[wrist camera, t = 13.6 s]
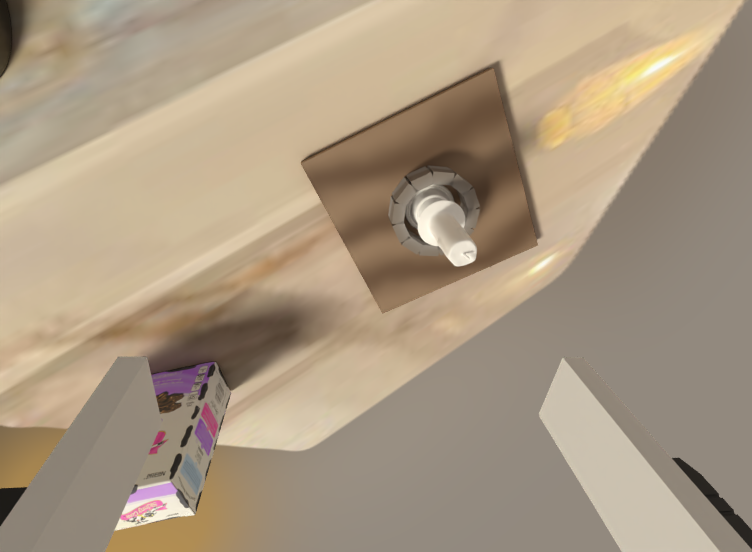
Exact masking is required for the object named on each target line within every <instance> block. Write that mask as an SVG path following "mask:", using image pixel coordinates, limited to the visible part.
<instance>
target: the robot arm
mask: <svg viewBox="0 0 752 552" xmlns="http://www.w3.org/2000/svg"><path fill="white" fill-rule="evenodd" d="M11 41H12V32H11V21H10V16H9V11H8V7H7V4H6V1H5V0H0V76H1V74H2V73H3V71H4V69H5V67H6V65H7V62H8V59H9V55H10V51H11ZM539 416H540V418H541V420H542V421H543V423H544V425H545V426H546V428H547V429H548V431H549V433H550V434H551V436H552V438H553V439H554V441H555V442H556V444H557V446H558V448H559V449H560V451H561V453H562V454H563V456H564V457H565V459H566V461H567V462H568V464H569V466H570V467H571V469H572V470H573V472H574V474H575V475H576V477H577V479H578V480H579V482H580V484H581V485H582V487H583V488H584V490H585V492H586V494H587V495H588V497H589V498H590V500H591V502H592V503H593V505H594V507H595V508H596V510H597V512H598V513H599V515H600V517H601V518H602V520H603V521H604V523H605V525H606V526H607V528H608V530H609V531H610V533H611V535H612V536H613V538H614V540H615V541H616V543H617V544H618V546H619V548H620V549H621V551H622V552H752V530H751V529H750V528H749V527H748V525H747V524H746V523H745V522H744V521H743V520H742V519H741V518H740V517H739V516H738V515H735V514H734V510H733V509H732V508H731V507H730V506H729V505H728V503H727V502H726V501H725V500H724V499H723V498H720V497H719V494H718V493H717V491H716V490H715V489H714V488H713V487H712V486H711V485H710V484H709V483H708V482H707V481H706V480H705V479H704V477H703V476H702V475H701V474H700V473H698V472H697V471H696V470H694V469H693V468H692V467H690V466H689V465H688V464H687V463H685V462H684V461H683V460H681V459H680V458H671V457H670V456H669V455H668V454H667V452H666V451H665V450H664V449H663V448H662V447H661V446H660V444H659V443H658V442H657V441H656V440H655V439H654V438H653V436H652V435H650V433H649V432H648V431H647V430H646V428H645V427H644V426H643V425H642V424H641V423H640V422H639V420H638V419H637V418H636V417H635V416H634V415H633V414H632V413H631V412H630V410H629V409H628V408H627V407H626V406H625V405H624V403H623V402H622V401H621V400H620V399H619V398H618V397H617V395H616V394H615V393H614V392H613V391H612V390H611V389H610V388H609V386H608V385H607V384H606V383H605V382H604V381H603V379H602V378H601V377H600V376H599V375H598V374H597V373H596V372H595V371H594V369H593V368H592V367H591V366H590V365H589V364H588V362H587V361H586V360H585V359H584V358H571V357H566V358H565V357H563V358H562V361H561V363H560V365H559V368H558V370H557V373H556V375H555V377H554V380H553V382H552V384H551V387H550V389H549V391H548V394H547V396H546V399H545V401H544V403H543V406H542V408H541V410H540V413H539ZM161 425H162V421H161V416H160V412H159V407H158V403H157V398H156V394H155V390H154V385H153V381H152V376H151V372H150V367H149V363H148V358H147V357H118V358H117V359H116V361H115V362H114V364H113V365H112V366H111V368H110V369H109V371H108V372H107V374H106V375H105V377H104V378H103V379H102V381H101V382H100V384H99V385H98V387H97V388H96V390H95V391H94V392H93V394H92V395H91V397H90V398H89V400H88V401H87V402H86V404H85V405H84V407H83V408H82V410H81V411H80V413H79V414H78V415H77V417H76V418H75V420H74V421H73V423H72V424H71V426H70V427H69V428H68V430H67V431H66V433H65V434H64V436H63V437H62V439H61V440H60V442H59V443H58V444H57V446H56V447H55V449H54V450H53V452H52V453H51V454H50V456H49V457H48V459H47V460H46V462H45V463H44V465H43V466H42V467H41V469H40V471H39V472H38V473H37V475H36V476H35V477H34V479H33V480H32V482H31V483H30V485H29V486H28V487H24V488H2V489H0V552H105V551H106V548H107V546H108V544H109V541H110V539H111V537H112V535H113V532H114V530H115V528H116V526H117V524H118V521H119V519H120V517H121V515H122V512H123V510H124V508H125V506H126V503H127V501H128V499H129V497H130V494H131V492H132V490H133V488H134V485H135V483H136V481H137V479H138V476H139V474H140V472H141V470H142V467H143V465H144V463H145V461H146V458H147V456H148V454H149V452H150V449H151V447H152V445H153V443H154V440H155V438H156V436H157V434H158V432H159V429H160V427H161Z"/></svg>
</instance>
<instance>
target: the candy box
mask: <svg viewBox="0 0 752 552" xmlns="http://www.w3.org/2000/svg"><path fill="white" fill-rule="evenodd" d="M151 376H152V381H153V385H154V390H155V394H156V398H157V403H158V407H159V412H160V416H161V421H162V425H161V427H160V429H159V432H158V434H157V436H156V438H155V440H154V443H153V445H152V447H151V449H150V452H149V454H148V456H147V458H146V461H145V463H144V465H143V467H142V470H141V472H140V474H139V476H138V479H137V481H136V483H135V485H134V488H133V490H132V492H131V494H130V497H129V499H128V501H127V503H126V506H125V508H124V510H123V512H122V515H121V517H120V519H119V521H118V524H117V526H116V528H115V530H114V531H116V530H120V529H125V528H130V527H135V526H139V525H144V524H149V523H153V522H158V521H162V520H167V519H172V518H176V517H181V516H190V515H195V514H196V511H197V507H198V504H199V500H200V497H201V493H202V490H203V486H204V483H205V480H206V476H207V473H208V469H209V466H210V463H211V459H212V456H213V453H214V449H215V446H216V443H217V439H218V436H219V431H220V429H221V425H222V422H223V419H224V415H225V412H226V408H227V405H228V402H229V399H230V395H231V392H230V390H229V387H228V385H227V383H226V382H225V380H224V377H223V375H222V373H221V371H220V369H219V367H218V365H217V363H216V362H209V363H204V364H199V365H195V366H191V367H185V368H180V369H176V370H171V371H166V372H161V373H157V374H152V375H151Z"/></svg>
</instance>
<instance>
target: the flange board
mask: <svg viewBox="0 0 752 552" xmlns="http://www.w3.org/2000/svg"><path fill="white" fill-rule="evenodd" d="M301 165H302V167H303V168H304V170H305V172H306V174H307V176H308V178H309V179H310V181H311V183H312V185H313V187H314V189H315V190H316V192H317V194H318V196H319V198H320V200H321V201H322V203H323V205H324V207H325V209H326V211H327V212H328V214H329V216H330V218H331V220H332V222H333V223H334V225H335V227H336V229H337V231H338V233H339V235H340V236H341V238H342V240H343V242H344V244H345V246H346V247H347V249H348V251H349V253H350V255H351V257H352V258H353V260H354V262H355V264H356V266H357V268H358V269H359V271H360V273H361V275H362V277H363V279H364V280H365V282H366V284H367V286H368V288H369V290H370V291H371V293H372V295H373V297H374V299H375V301H376V302H377V304H378V306H379V308H380V310H381V312H382V314H383V313H385V312H387V311H390V310H392V309H394V308H396V307H399V306H401V305H403V304H405V303H408V302H410V301H412V300H415V299H417V298H419V297H421V296H424V295H426V294H428V293H431V292H433V291H435V290H437V289H440V288H442V287H444V286H446V285H449V284H451V283H453V282H456V281H458V280H460V279H462V278H465V277H467V276H469V275H471V274H474V273H476V272H478V271H481V270H483V269H485V268H487V267H490V266H492V265H494V264H497V263H499V262H501V261H503V260H506V259H508V258H510V257H512V256H515V255H517V254H519V253H522V252H524V251H526V250H528V249H531V248H533V247H535V246H537V245H538V243H537V239H536V235H535V231H534V227H533V223H532V219H531V215H530V211H529V207H528V203H527V199H526V195H525V191H524V187H523V183H522V179H521V175H520V171H519V167H518V163H517V159H516V155H515V151H514V147H513V143H512V139H511V135H510V131H509V127H508V123H507V119H506V115H505V111H504V107H503V103H502V99H501V95H500V91H499V87H498V83H497V79H496V75H495V71H494V68H489V69H487V70H485V71H483V72H481V73H479V74H477V75H475V76H473V77H471V78H469V79H467V80H465V81H463V82H461V83H459V84H457V85H455V86H453V87H451V88H449V89H447V90H445V91H443V92H441V93H438V94H436V95H434V96H432V97H430V98H428V99H426V100H424V101H422V102H420V103H418V104H416V105H414V106H412V107H410V108H408V109H406V110H404V111H402V112H400V113H398V114H396V115H394V116H392V117H390V118H388V119H386V120H384V121H382V122H380V123H378V124H376V125H374V126H372V127H370V128H368V129H366V130H364V131H362V132H360V133H358V134H356V135H354V136H352V137H350V138H348V139H346V140H344V141H342V142H340V143H338V144H336V145H334V146H332V147H330V148H328V149H325V150H323V151H321V152H319V153H317V154H315V155H313V156H311V157H309V158H307V159H305V160H303V161H301ZM433 184H439V185H443V186H445V187H446V188H447V189H448V190H449V191H450V192H451V194H452V196H453V198H454V202H455V203H456V204H458V205H459V206H460V207H461V208H462V210H463V212H464V214H465V226H464V229H465V231H466V232H467V234H468V235H469V236H470V237H471V239H472V240H473V241H474V243H475V245H476V247H477V254H476V259H475V261H474V262H472V263H469V264H467V265H464V266H458V267H457V266H455V265H453V263H452V262H451V261H450V260H449V259H448V258H447V257H446V255H445V254H444V252H443V251H442V249H441V248H440V247H439V246H433V245H430V244H428V243H426V242H425V241H424V240H423V239H422V238H421V237H420V235H419V232H418V229H416V228H414V227H413V226H412V225H411V224H410V223H409V222H408V220H407V218H406V214H405V211H406V206H407V204H408V203H409V202H410V200H411V199H412V198H413V196H414V195H415V194H416V192H418V191H420V190H422V189H424V188H426V187H428V186H430V185H433Z"/></svg>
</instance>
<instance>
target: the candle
mask: <svg viewBox="0 0 752 552" xmlns="http://www.w3.org/2000/svg"><path fill="white" fill-rule="evenodd" d="M405 214H406V218H407V220H408V222H409V223H410V224H411V225H412V226H413V227H414V228H416V229H418V232H419V235H420V237H421V238H422V239H423V240H424V241H425V242H426V243H428V244H430V245H433V246H439V247H440V248H441V249H442V251H443V252H444V254H445V255H446V257H447V258H448V259H449V260H450V261H451V262H452V263H453V265H455V266H457V267H458V266H464V265H467V264H469V263H472V262H474V261H475V259H476V254H477V247H476V245H475V243H474V241H473V240H472V239H471V237H470V236H469V235H468V234H467V232H466V231H465V229H464V226H465V214H464V212H463V210H462V208H461V207H460V206H459V205H458V204H456V203H455V202H454V198H453V196H452V194H451V192H450V191H449V190H448V189H447V188H446V187H445V186H443V185H439V184H433V185H430V186H428V187H426V188H424V189H422V190H420V191H418V192H416V194H415V195H414V196H413V198H412V199H411V200H410V202H409V203H408V204H407V206H406V211H405Z"/></svg>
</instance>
